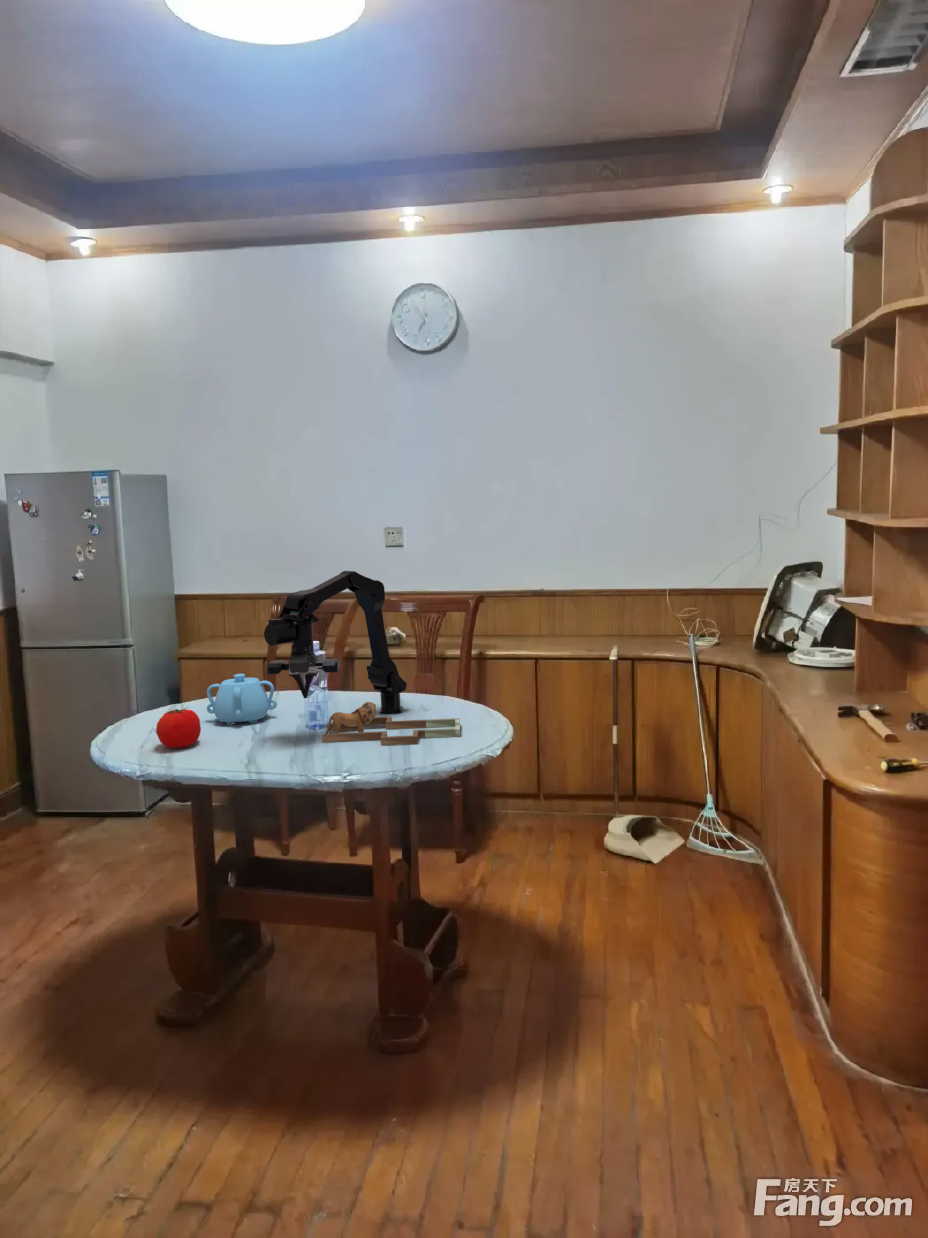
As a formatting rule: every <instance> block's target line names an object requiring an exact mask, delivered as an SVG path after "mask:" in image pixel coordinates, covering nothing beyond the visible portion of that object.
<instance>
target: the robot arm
mask: <svg viewBox="0 0 928 1238" xmlns="http://www.w3.org/2000/svg"><path fill="white" fill-rule="evenodd" d="M345 590H348V591H350V592H352V593H354V595H355V598H356V601H357V604H358V605H359V607H360V608H361V609H362V610H363V612H364V613H363V614H364V618H365V622H366V629H367V635H368V636H367V637H368V640H369V645H370V646H369V647H370V653H371V657H372V659H371V662H370V664H369V665H367V666H366V671H367V680H369V682H370V683H371V684H372V687H373V690H374V691H380V692H379V693H380V708H379V714H395V713H396V714H401V713H402V711H403V705H401V693H403V692H405V691H406V689H407V682H406V681H405V680H404V679H403V678H402V677H401V676H400V673H399V671H398V668H397V665H396V663H395V662H394V661H393V659H392V658H391V656H390V653H389V652H390V651H389V644H388V641H387V639H388V638H387V633H386V627H385V623H384V622H385V621H384V617H383V610H382V608H383V606H384V604H385V601H386V593H385V586H384V583H383V582H381V581H380V580H378V579H377V580H376V579H373V578H370V577H367V576H364V575H363V574H360V573H359V572H356V571H355V570H343V571H341V572H340V573H339V574H337V575H335V576H333V577H332V578H329V579H327V580H325V581H324V582H322V583H320V584H318V585H316V586H314V587H312V588H309V589H303V590H297V591H294V592H291V593H289V594H288V595H287V596H286V600H285V603H284V605H283V607H282V608H281V611H280V613H279V614H278V616H277V618H269V619H268V621H267V622H268V624H266V626H265V628H264V632H263V636H264V639H265V642H266V643H267V645H269V646H270V647H274V646H281V645H285V644H290V643H291V646H290V647H291V649H290V650H291V651H290V655H289V658H288V662H286V659H276V660H275V659H272V660H271V661H270V662H269V663H268V664H267V665H266V674H267V675H279V674H280V673H281V672H282V671H289V674H288V676H289V678H290V677H292V678H293V679H294V680H295V682H296V683H297V685H298V688H299V690H300V692H301V695H302V696H303V699H307V698H308V697H309V693H310V689H311V686H312V683H313V680H314V678H315V676H318V674H319V673H320V670H322V671H323V672H324V673H338V672H339V671H340V669H341V661H340V659H339V658H325V659H323V661H317V655H316V653H315V648H314V633H313V631H314V630H313V623H317V622H319V621H320V619H319V618H318V617H317V616H316V615H314V613H315V612H316V611H317V610H318V609H320V607H321V604H323V603H324V602H325V601H327V600H330V599H331V598H333V597H334V596H336V595H338V594H340V593H342V592H343V591H345Z"/></svg>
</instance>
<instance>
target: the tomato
mask: <svg viewBox="0 0 928 1238" xmlns="http://www.w3.org/2000/svg"><path fill="white" fill-rule="evenodd" d="M188 708H189V706H188V707H186V708H183V709H179V708H175V709H173V710H170V711H166V712H165V713H163V715H162V716H161V717H160V718H159V719H158V721H157V723H156V730H155V733H156V736H157V738H158V741H159V743H161V744H162V745H163V746H165V747H166V748H167V749H181V748H180V747H183V748H186V747H189V745H190V746H191V744H192V745H193V744H195V743H196V742H197V741H198V739H199V738H200V736H201V731H202V728H201V721H200V718H199V716H198V714H197V713H196V712H195V711H193V710H192V709H188Z"/></svg>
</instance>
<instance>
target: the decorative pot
mask: <svg viewBox="0 0 928 1238" xmlns="http://www.w3.org/2000/svg"><path fill="white" fill-rule="evenodd" d="M263 685H267V686H269V689H270V690H269V695H268V694H267V692H266V690H265V688H264V686H263ZM214 688H218V689H217V693H216V695H215V700H214V698H213V696H212V693H211V691H212V689H214ZM274 693H275V686H274V684H273V683H272V682H271V681H269V680H261V681H260V679H259V678H257V677H246V674H245V673H236V674H234V675H233V678H230V679H229V678H228V679H225V680H223V681H222V682H221V683H214V684H211V685H209V687H207V689H206V696H207V698H208V701H209V703H210V704H208V705H207V707H206V711H207V712H208V714H214V715H215V717H216V718H217V720H218V721H220V722H221V723H222V722H223V723H225V724H226V723H227V724H232V725H234V724H233V723H235V724H236V723H241V722H249V723H248V724H256V723H258V722H257V721H259V720H261V719H263V718H264V717H265V716H266V715H267V713H268V711H269V710H272V711H273V710H275V709H276V708H277V705H278V704H277V701H275V700H273V696H274ZM271 704H273V705H271ZM211 707H212V709H211ZM255 722H256V723H255Z"/></svg>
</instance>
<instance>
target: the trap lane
mask: <svg viewBox="0 0 928 1238" xmlns="http://www.w3.org/2000/svg"><path fill="white" fill-rule="evenodd" d="M332 724H333V723H331V724H330V727H331V726H332ZM326 727H327V728H328V723H327V724H326ZM327 728H326V729H327ZM425 728H426V729H425ZM376 729H377V730H379V729H380V730H381V729H385V731H364V732H358V726H353V727H349V726H345V725H344V724H342V723H341V726H340V729H339V733H335V730H336V729H333V731H332V733H333V734H329V733H328V734H325V733H321V742H322V743H323V744H324V743H339V742H341V743H342V742H345V743H346V742H364V741H365V742H366V741H367V742H368V741H371V742H372V741H380V745H381V746H382V747H383V746H401V745H403V746H405V745H407V746H408V745H418V744H419V739H435V738H438V739H439V738H457V737H459V738H460V737H461V718H460V717H458V718H433V719H413V720H412V719H407V720H405V719H404V720H393V716H375V718H374V719H373V720H372V721H371V723H370V724H369V725H365V726H364V730H376ZM401 729H402V730H407V729H413V731H412V735H411V734H410V735H394V736H390V735H389V736H388V730H401Z"/></svg>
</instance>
